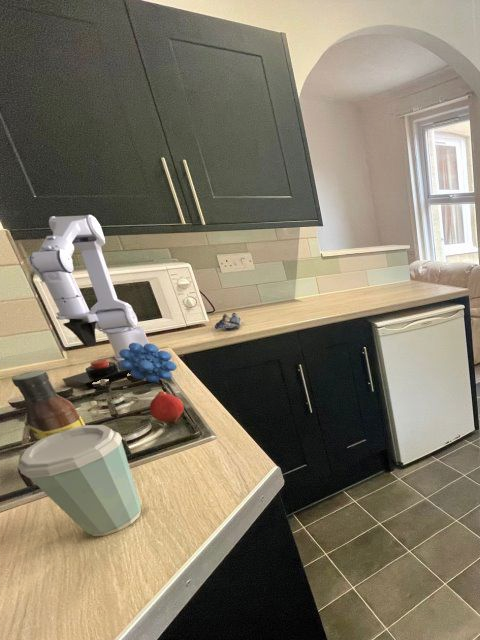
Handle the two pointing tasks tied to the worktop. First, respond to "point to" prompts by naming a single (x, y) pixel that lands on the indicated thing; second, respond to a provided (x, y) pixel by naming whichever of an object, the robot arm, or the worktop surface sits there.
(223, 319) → the blue grey figurine
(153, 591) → the worktop surface
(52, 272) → the robot arm
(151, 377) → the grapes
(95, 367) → the button
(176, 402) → the onion
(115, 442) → the disposable coffee cup
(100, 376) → the switch box
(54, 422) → the sauce bottle
